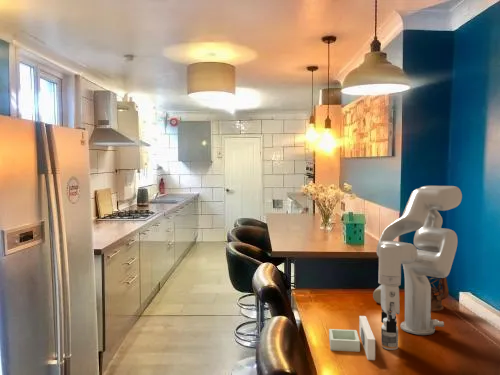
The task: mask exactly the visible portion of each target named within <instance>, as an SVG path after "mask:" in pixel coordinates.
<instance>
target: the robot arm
mask: <svg viewBox="0 0 500 375" xmlns="http://www.w3.org/2000/svg"><path fill="white" fill-rule="evenodd" d="M462 199H463V194H462V191H461V189H460V188H459V187H458V186H454V185H424V186H420V187H419V188H415V189H414V190H413V191H411V194H410V196H409V198H408V201H407V202H406V205H405V208H404V210H403V212H402V215H401V216H400V217H399V218H397V219H395V221H393V222H391V223H390V224H389V225H388V226H386V227H385V228H384V229H383V231H382V233H381V234H380V237H379V239H378V241H377V244H376V256H377V257H378V275H377V276H378V281H377V282H378V284H379V285H381V304H380V307H381V315H380V316H381V321H380V322H381V323H382V324H383V319H384V318H387V319H388V320H387V324H386V331H387V333H396V326H397V324H398V321H396V320H397V315H400V309H401V308H400V307H401V306H400V288H399V287H400V286H401V285H402V284H401V283H402V269H403V274H404V321H402V322H401V323H400V329H401V330H402V331H404V332H405V333H408V334H412V335H416V336H427V335H429V336H430V335H432V334H435V331H436V327H439V328H440V327H445V322H444V321H440V320H439V319H433V318H432V317H431V316H432V315H431V314H432V311H431V287H432V286H431V284H430V283H431V282H430V280H428V279H429V278H428V277H431V278H434V277H437V278H436V279H438V278H439V279H441V278H445V277H446V278H447V277H448V276H449V275H450V272H451V269H452V267H453V266H452V265H453V263H454V259H455V256H456V253H457V247H458V235H457V233H456V232H455V231H454V229H453V230H452V229H450V228H445V227H444V228H442V225H443V217H442V216H441V214H440V212H439V211H443V212H445V211H449V210H452V209H455V208H457V207H458V206H459V205H460V204H461V202H462ZM411 232H415V233H414V236H413V244H412V243H410V242H409V243H408V242H403V241H396V239H397V238H398V237H400V236H402V235H405V234H409V233H411ZM394 240H395V241H394ZM426 250H427V251H426ZM432 251H433V252H432Z"/></svg>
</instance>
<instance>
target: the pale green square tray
mask: <svg viewBox="0 0 500 375" xmlns="http://www.w3.org/2000/svg"><path fill="white" fill-rule="evenodd" d="M358 333H359V332H358V331H357V329H340V328H329V329H328V334H329V335H328V338H329V349H330V351H335V352H336V351H338V352H341V351H342V352H357V353H358V352H361V341H360V340H361V339H360V336H359V334H358Z"/></svg>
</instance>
